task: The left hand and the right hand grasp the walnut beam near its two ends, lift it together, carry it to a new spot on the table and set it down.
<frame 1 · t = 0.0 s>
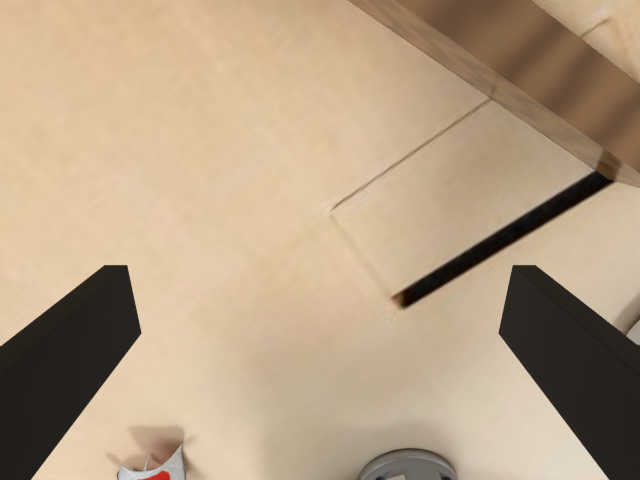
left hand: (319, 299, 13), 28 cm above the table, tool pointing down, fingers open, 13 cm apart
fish: (155, 460, 55), on the table
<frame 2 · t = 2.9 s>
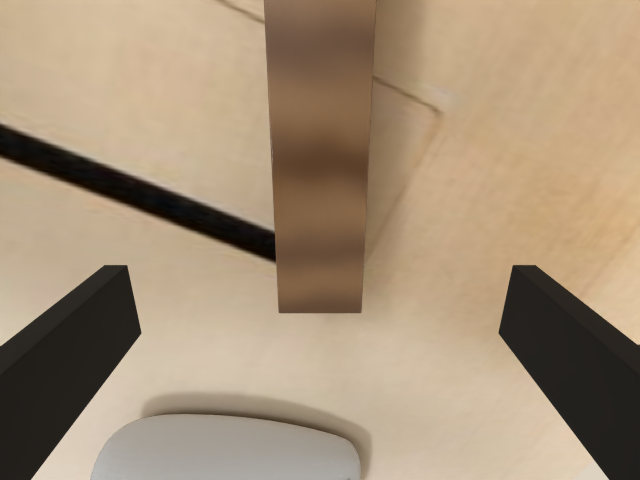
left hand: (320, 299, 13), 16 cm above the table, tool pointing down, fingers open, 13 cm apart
projector: (243, 454, 37), on the table
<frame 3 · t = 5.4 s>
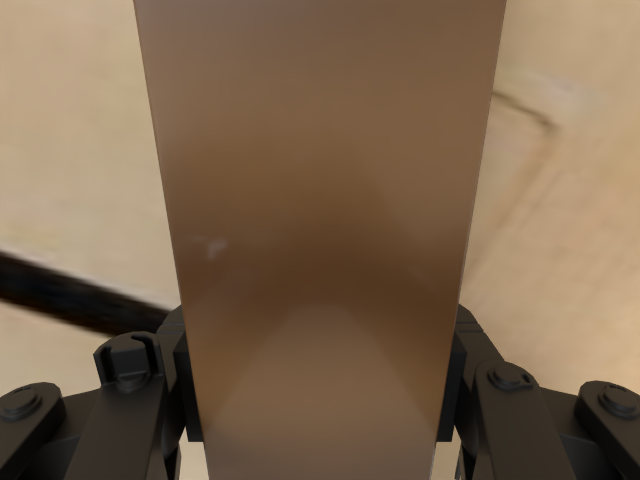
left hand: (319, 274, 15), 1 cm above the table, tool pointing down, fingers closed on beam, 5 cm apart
when the left hand's fingers open (2 cm above the table, at t = 11.2 s): beam moves 1 cm, on the table.
when the right hand's fingers open (4 cm above the table, at t = 11.4 s): beam stays where it is, on the table.
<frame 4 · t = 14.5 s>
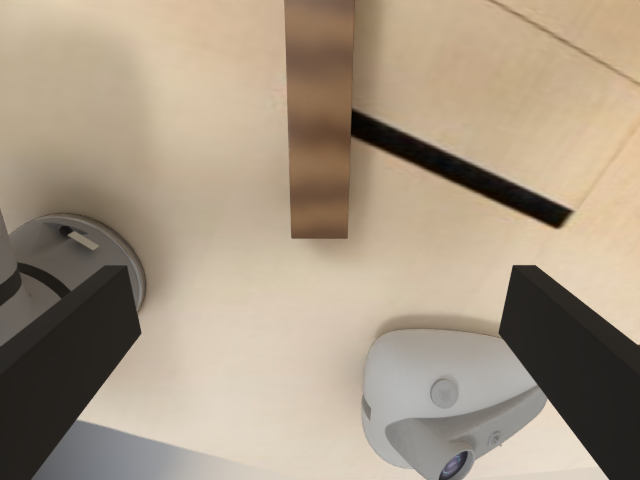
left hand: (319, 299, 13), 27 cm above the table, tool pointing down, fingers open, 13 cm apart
projector: (447, 367, 48), on the table
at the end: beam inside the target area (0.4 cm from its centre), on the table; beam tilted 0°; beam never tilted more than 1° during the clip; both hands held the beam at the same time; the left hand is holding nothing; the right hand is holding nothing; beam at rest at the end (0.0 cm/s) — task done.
